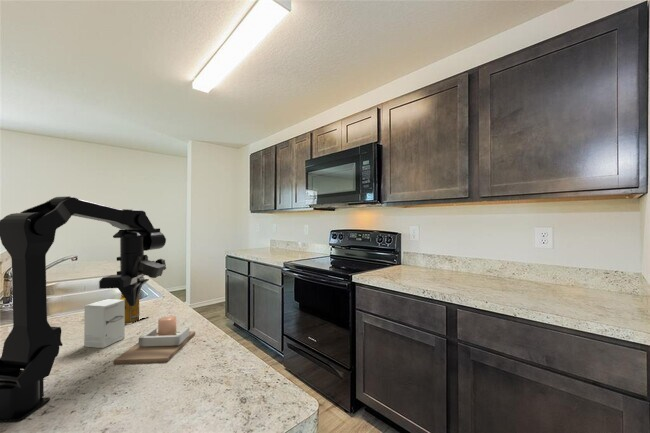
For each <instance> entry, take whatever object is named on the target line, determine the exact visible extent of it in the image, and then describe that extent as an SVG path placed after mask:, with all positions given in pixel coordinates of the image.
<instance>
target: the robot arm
mask: <svg viewBox="0 0 650 433" xmlns="http://www.w3.org/2000/svg"><path fill="white" fill-rule="evenodd" d="M72 216H73V217H79V218H84V219H88V220H93V221H99V222H104V223H108V224H109V225H111V226H112V227H115V228H116V229H119V230H118V231H117V232H115V234H114V235H112V238H114V239H119V247H120V248H119V249H120V250H119V251H120V252H119V255H120V256H117V257H116V262H118V261H119V263H120V264H119V267H120V268H119V270H118V271H116V274H110V275H107V276H104V277H102V278H100V279H99V282H98V288H99V289H101V290H102V289H118V291H119V292H120V293H122V294H123V296H124V297H125V299H126V300H127V302H128V304H129V305H130V306H134V305H135V304H136V301H137V298H138V295H139V296H140V292H141V289H142V287H143V286H144V284H146V283H147V282H148V281H149V278H152V279H156V278H157V277H162V275H163V273H164V271H165V270H166V269H167V267H166V266H167V265H166V260H165V259H164V258H158V259H157V260H150V259H149V256H148V254H144V253H145V252H144V251H152V250H160V249H163V248H164V247H165V245H166V242H167V238H166V237H165V235H164V233H163V232H162V231H161V228H157V227H156V228H155V227H154V225H153V223H152V222H151V220H150V218H149V217H148V216H147V212H146V211H144V210H142V209H124V208H123V209H121V208H115V207H111V206H107V205H103V204H99V203H95V202H91V201H87V200H83V199H79V198H77V197H75V196H70V195H69V196H56V197H53V198H51V199H49V200H47V201H46V202H43V203H41V204H38V205H35V206H33V207H30V208H27V209H24V210H22V211H20V212H16V213H10V214H7V215H6V216H4V217H3V218H2V219H0V242H1V245H2V246H3V247H4V249H5V250H6V251H7V253H8V255H9V257H10V258H11V282H12V285H11V287H12V290H11V291H12V317H13V318H12V319H13V321H12V323H13V325H12V329H11V330H10V332H9V333H8V336H7V337H6V339H5V340H4V343H3V347H2V352H1V356H0V421H10V422H19V421H18V420H20V421H22V420H23V419H25V418H26V417H28V416H29V415H31V414H32V413H34V412H35V411H36V410H38V409H39V408H40V407H41V408H42V406H44V405H45V404H47V403H48V402H50V401H51V397H49V396H48V397H44V395H45V394H44V393H45V392H44V388H45V387H44V379H45V378H48V377H49V376H50V375H51V372H52V368H53V366H54V362H55V359H56V358H57V357H58V356H59V352H60V347H62V346H63V344H64V343H63V342H62V338H61V336H62V328H61V326H52V325H50V323H49V322H48V306H47V305H48V301H47V300H48V298H47V296H48V295H47V294H48V293H47V266H46V265H47V263H46V262H47V260H46V257H47V253H48V252H49V250H50V249H51V247H52V245H53V244H54V243H55V239H56V238H55V237H56V232H57V230H58V229H59V228H60V227H63V226H64V225H65V224H67V223H68V221H69V220H70V219H71V217H72ZM144 276H148V277H149V278H145V277H144ZM122 294H121V295H122ZM21 419H22V420H21Z"/></svg>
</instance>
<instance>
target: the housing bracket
mask: <svg viewBox="0 0 650 433" xmlns="http://www.w3.org/2000/svg"><path fill="white" fill-rule="evenodd" d="M179 332H180V333H178V334H177V335H167V336H157V333H158V331H157V327H155V328H151V329H150V330H148V331H146V332H145V333H144V334H142V335H141V336H140V337H138V342H139V347H144V346H172V345H180V344H181V343H182V342H183V341H184V340H185V339H186V338H187V337H188V336H189V332H190V327H184V328H183V329H182V330H181V331H179Z"/></svg>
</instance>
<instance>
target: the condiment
mask: <svg viewBox="0 0 650 433" xmlns="http://www.w3.org/2000/svg"><path fill="white" fill-rule="evenodd" d="M120 293H121V292H120ZM120 295H121V296H120V298H119V300H125V325H127V326H129V325H131V324H132V325H133V323H132V322H134V323H137V322H138V321H137V320H139V316H140V294H139V295H138V298H137V301H136V304H135V305H134V306H130V305H129V304H128V302H127V300H126V299H125V297H124V296H123V294H122V293H121V294H120ZM135 321H136V322H135Z"/></svg>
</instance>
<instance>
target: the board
mask: <svg viewBox="0 0 650 433" xmlns="http://www.w3.org/2000/svg"><path fill="white" fill-rule="evenodd" d="M180 332H181V331H177V334H178V333H180ZM195 335H196V331H194V330H193V331H189V336H188V337H187V338H186V339H185V340H184V341H183V342H182V343H181V344H180V345H172V346H144V347H139V341H138V342H137V343H136V344H134V345H133V346H132V347H130V348H128V349H126V351H124V352H123V353H122V354H120V355H119V356H116V358H115V359H113V364H114V365H116V364H119V365H120V364H121V365H122V364H143V363H147V364H148V363H168V362H169V361H170V360H171V359H172V358H173V357H174V356H175V355H176V354H177V353H178V352H179V351H180V350H181V349H182V348H183V347H184V346H185V345H187V343H188V342H189V341H191V340H192V338H194V336H195ZM157 336H158V332H157Z"/></svg>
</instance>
